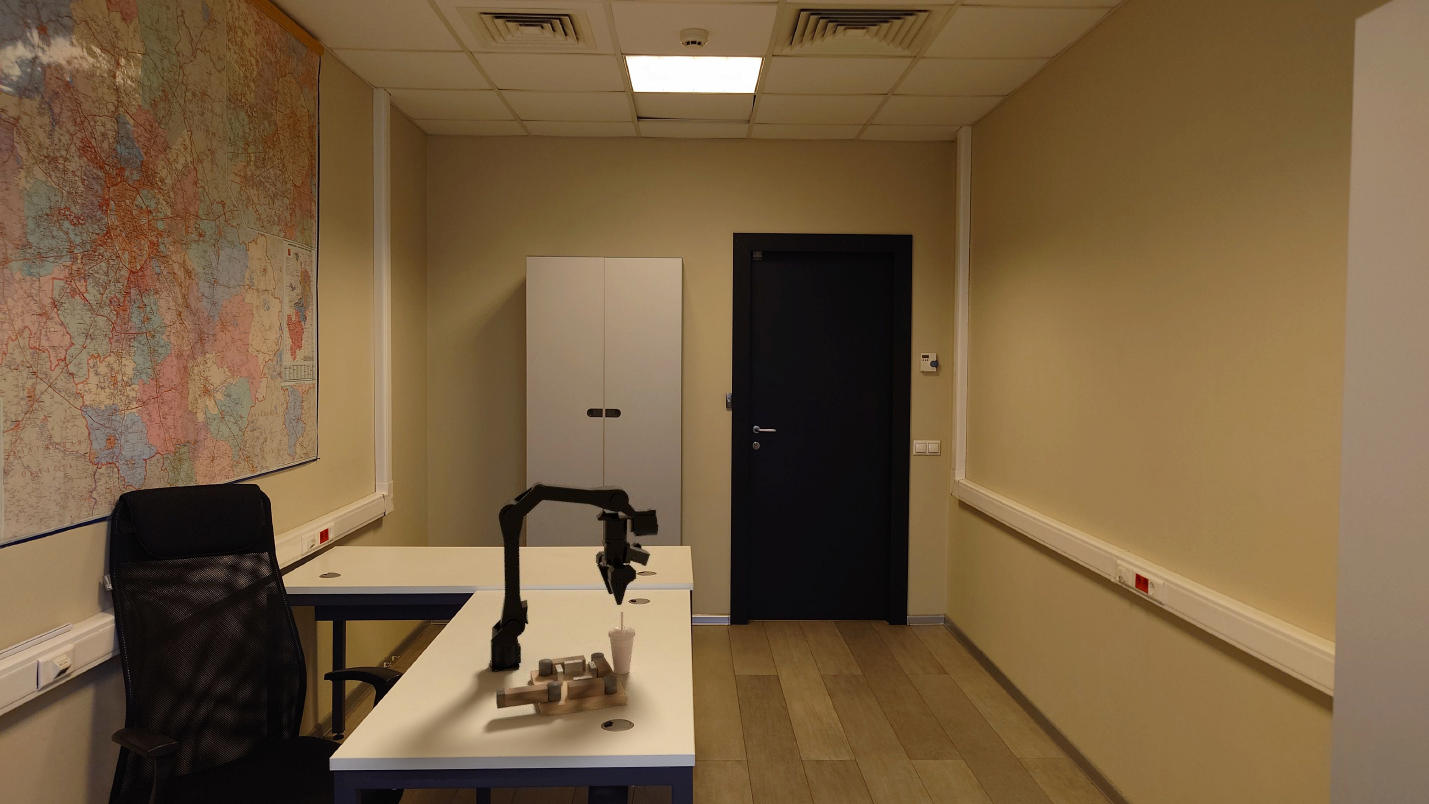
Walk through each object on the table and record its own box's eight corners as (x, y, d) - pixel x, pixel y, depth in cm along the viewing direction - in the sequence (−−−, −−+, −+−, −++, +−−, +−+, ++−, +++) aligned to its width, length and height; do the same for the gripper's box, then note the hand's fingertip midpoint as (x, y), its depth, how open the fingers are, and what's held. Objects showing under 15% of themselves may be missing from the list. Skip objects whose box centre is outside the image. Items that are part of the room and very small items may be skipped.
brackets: (561, 695, 168) (561, 681, 168) (554, 675, 178) (554, 662, 178) (601, 689, 171) (601, 676, 171) (591, 670, 181) (591, 658, 181)
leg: (560, 694, 168) (560, 680, 168) (562, 699, 165) (562, 686, 165) (496, 702, 164) (496, 688, 164) (497, 708, 161) (497, 694, 161)
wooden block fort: (541, 716, 163) (541, 693, 162) (530, 679, 181) (530, 658, 181) (626, 704, 169) (626, 681, 168) (607, 669, 187) (607, 648, 187)
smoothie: (636, 665, 190) (636, 608, 189) (634, 676, 183) (634, 617, 183) (609, 665, 190) (609, 608, 189) (606, 676, 183) (606, 617, 182)
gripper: (657, 543, 188) (656, 607, 189) (637, 527, 206) (637, 586, 207) (611, 546, 185) (611, 612, 185) (595, 530, 202) (595, 589, 203)
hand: (614, 599), depth 195 cm, fingers open, 9 cm apart
